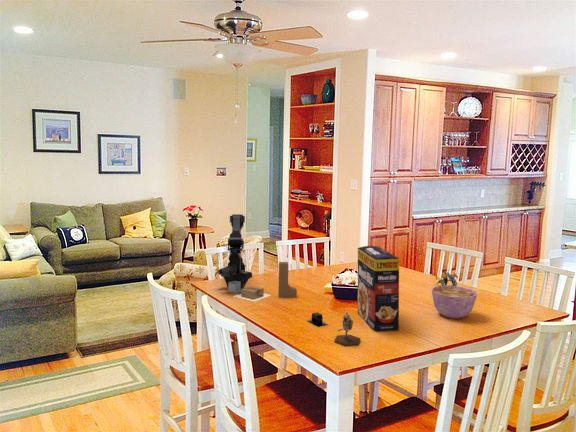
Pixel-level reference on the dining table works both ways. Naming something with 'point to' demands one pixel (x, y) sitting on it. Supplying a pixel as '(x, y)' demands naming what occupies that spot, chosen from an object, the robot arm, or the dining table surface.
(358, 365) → the dining table surface
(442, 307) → the bowl of food
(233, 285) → the gray cube
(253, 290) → the walnut base
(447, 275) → the plant sprig
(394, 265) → the cereal box
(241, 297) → the felt mat
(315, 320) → the black block
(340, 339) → the robot figurine
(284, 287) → the wooden block
